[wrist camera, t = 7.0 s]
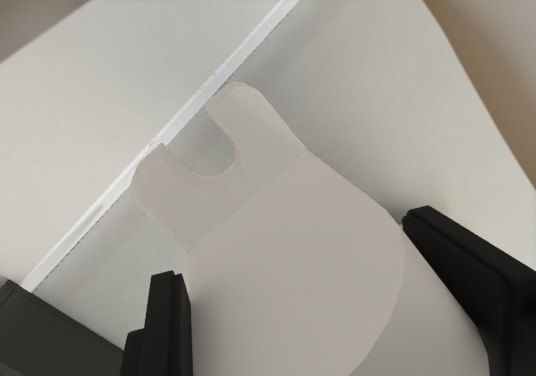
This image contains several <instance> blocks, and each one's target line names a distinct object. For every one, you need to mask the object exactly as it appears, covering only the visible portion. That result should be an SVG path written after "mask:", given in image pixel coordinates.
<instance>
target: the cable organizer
mask: <svg viewBox="0 0 536 376" xmlns="http://www.w3.org/2000/svg"><path fill="white" fill-rule="evenodd" d="M204 107H205V110H206V112H207V114H208V115H209V116H210V117H211V118H212V119H213V120H214V121H215V123H216V124H217V125H218V126H219V127H220V128H221V129H222V130H223V131H224V133H225V134H226V135H227V136H228V137H229V138H230V139H231V140H232V141H233V143H234V145H235V155H234V159H233V161H232V163H231V165H230V166H229V167H228V168H227V170H225V171H224V172H222V173H221V174H219V175H216V176H211V177H205V176H199V175H197V174H195V173H193V172H192V171H190V170H189V169H188V168H187V167H186V166H185V165H184V164H183V163H182V162H181V161H180V160H179V159H178V158H177V157H176V156H175V155H174V154H173V153H172V152H171V151H170V150H169V149H168V148H167V147H166V146H165V145H164V144H163V143H161V144H160V145H158V146H157V147H156V148H155V149H154V150H153V151H152V152H151V153H150V154H148V155H147V156H146V157H145V158H144V159H143V160H142V161H141V162H140V163H139V164H138V166H137V168H136V171H135V173H134V176H133V178H132V181H131V183H130V186H129V195H130V198H131V200H132V202H133V203H134V204H135V205H136V206H137V207H138V208H139V209H140V210H141V211H143V212H144V213H145V214H146V215H147V216H148V217H149V218H150V219H151V220H153V221H154V222H155V223H156V224H157V225H158V226H159V227H160V228H162V229H163V230H164V231H165V232H166V233H167V234H168V235H169V236H170V237H172V238H173V239H174V240H175V241H176V242H177V243H178V244H179V245H181V246H182V247H183V248H184V249H185V250H186V251H187V252H188V263H189V296H190V303H191V326H192V356H193V376H490V374H489V364H488V354H487V351H486V349H485V347H484V344H483V342H482V339H481V337H480V334H479V332H478V329H477V327H476V325H475V324H474V323H473V321H472V320H471V319H470V317H469V316H468V315H467V313H466V312H465V311H464V310H463V308H462V307H461V306H460V304H459V303H458V302H457V300H456V299H455V298H454V297H453V295H452V294H451V293H450V291H449V290H448V289H447V287H446V286H445V285H444V284H443V282H442V281H441V280H440V278H439V277H438V276H437V274H436V273H435V272H434V271H433V269H432V268H431V267H430V265H429V264H428V263H427V261H426V260H425V259H424V258H423V256H422V255H421V254H420V252H419V251H418V250H417V248H416V247H415V246H414V245H413V243H412V242H411V241H410V239H409V238H408V237H407V235H406V234H405V233H404V231H403V230H402V229H401V228H400V226H399V225H398V224H397V223H396V221H395V220H394V219H393V218H392V217H391V215H390V214H389V213H388V212H387V211H386V210H385V208H383V207H382V206H381V205H379V204H378V203H377V202H376V201H374V200H373V199H372V198H370V197H369V196H368V195H366V194H365V193H364V192H362V191H361V190H360V189H358V188H357V187H356V186H354V185H353V184H352V183H350V182H349V181H348V180H346V179H345V178H344V177H343V176H341V175H340V174H339V173H337V172H336V171H335V170H333V169H332V168H331V167H329V166H328V165H327V164H325V163H324V162H323V161H321V160H320V159H319V158H317V157H316V156H315V155H313V154H312V153H311V152H310V151H308V150H307V149H306V148H305V147H304V145H303V144H302V143H301V142H300V140H299V139H298V138H297V137H296V136H295V134H294V133H293V132H292V131H291V129H290V128H289V127H288V126H287V124H286V123H285V122H284V121H283V120H282V118H281V117H280V116H279V115H278V113H277V112H276V111H275V110H274V108H273V107H272V106H271V105H270V104H269V102H268V101H267V100H266V99H265V97H264V96H263V95H262V94H261V93H260V92H259V91H258V90H257V89H255V88H253V87H251V86H249V85H247V84H245V83H242V82H232V83H229V84H227V85H226V86H224V87H223V88H222V89H221V90H220V91H219V92H218V93H217V94H215V95H214V96H213V97H212V98H211V99H210V100H209V101H208V102H207V103H205V104H204Z"/></svg>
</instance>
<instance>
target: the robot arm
mask: <svg viewBox="0 0 536 376" xmlns="http://www.w3.org/2000/svg"><path fill="white" fill-rule="evenodd" d="M402 227H403V231H404V233H405V234H406V235H407V237H408V238H409V239H410V241H411V242H412V243H413V245H414V246H415V247H416V248H417V250H418V251H419V252H420V254H421V255H422V256H423V258H424V259H425V260H426V261H427V263H428V264H429V265H430V267H431V268H432V269H433V271H434V272H435V273H436V274H437V276H438V277H439V278H440V280H441V281H442V282H443V284H444V285H445V286H446V287H447V289H448V290H449V291H450V293H451V294H452V295H453V297H454V298H455V299H456V300H457V302H458V303H459V304H460V306H461V307H462V308H463V310H464V311H465V312H466V313H467V315H468V316H469V317H470V319H471V320H472V321H473V323H474V324H475V325H476V327H477V329H478V332H479V334H480V337H481V339H482V342H483V344H484V347H485V349H486V351H487V354H488V364H489V374H490V376H536V271H534V270H533V269H531V268H529V267H528V266H526V265H525V264H523V263H521V262H520V261H518V260H516V259H515V258H513V257H512V256H510V255H508V254H507V253H505V252H504V251H502V250H500V249H499V248H497V247H495V246H494V245H492V244H491V243H489V242H487V241H486V240H484V239H482V238H481V237H479V236H478V235H476V234H474V233H473V232H471V231H469V230H468V229H466V228H465V227H463V226H461V225H460V224H458V223H456V222H455V221H453V220H452V219H450V218H448V217H447V216H445V215H443V214H442V213H440V212H439V211H437V210H435V209H434V208H432V207H430V206H423V207H419V208H415V209H411V210H409V211H408V212H407V216H404V217H403V219H402ZM119 376H193V356H192V326H191V303H190V300H189V296H188V293H187V290H186V286H185V283H184V279H183V276H182V274H177V275H175V274H174V272H173V270H171V271H167V272H163V273H160V274H156V275H152V276H151V282H150V289H149V297H148V304H147V311H146V318H145V325H144V328H143V329H139V330H135V331H132V332H129V333H128V335H127V339H126V344H125V349H124V354H123V359H122V364H121V369H120V374H119Z"/></svg>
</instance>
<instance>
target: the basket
mask: <svg viewBox="0 0 536 376" xmlns="http://www.w3.org/2000/svg"><path fill="white" fill-rule="evenodd" d="M123 354H124V351H123V350H121V349H120V348H118V347H116V346H115V345H113V344H112V343H110V342H108V341H107V340H105V339H104V338H102V337H100V336H99V335H97V334H96V333H94V332H92V331H91V330H89V329H88V328H86V327H84V326H83V325H81V324H80V323H78V322H76V321H75V320H73V319H72V318H70V317H68V316H67V315H65V314H64V313H62V312H60V311H59V310H57V309H55V308H54V307H52V306H51V305H49V304H47V303H46V302H44V301H43V300H41V299H39V298H38V297H36V296H35V295H33V294H31V293H30V292H28V291H27V290H25V289H23V288H22V287H20V286H19V285H17V284H15V283H14V282H12V281H11V280H8V281H7V282H6V283H5V284H4V285H3V286H2V287H1V288H0V376H119V374H120V369H121V364H122V359H123Z"/></svg>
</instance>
